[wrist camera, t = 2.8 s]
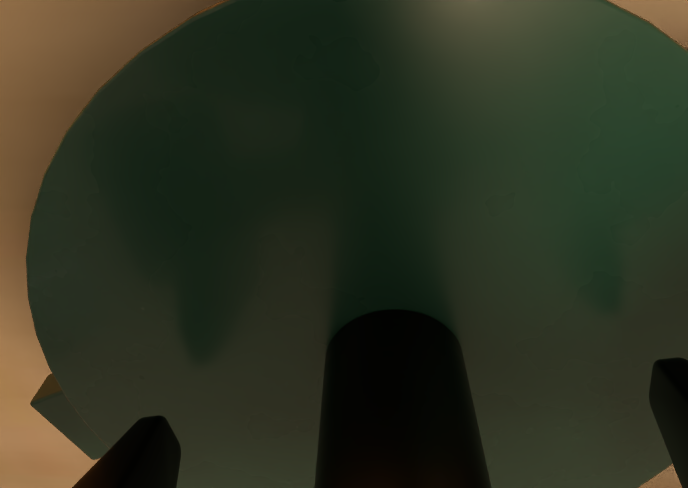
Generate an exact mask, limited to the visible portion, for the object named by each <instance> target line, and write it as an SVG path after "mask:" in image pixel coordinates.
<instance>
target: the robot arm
mask: <svg viewBox="0 0 688 488" xmlns="http://www.w3.org/2000/svg"><path fill="white" fill-rule="evenodd" d="M649 401H650V406H651V409H652V412H653V414H654V417H655V419H656V422H657V424H658V427H659V429H660V432H661V435H662V437H663V440H664V442H665V445H666V447H667V450H668V452H669V455H670V457H671V460H672V463H673V465H674V468H675V470H676V473H677V475H678V478H679V480H680V483H681V485H682V488H688V360H686V359H684V358H680V357H676V358H667V359H659V360H656V361H655V362H654V364H653V368H652V375H651V382H650V389H649ZM180 460H181V447H180V444H179V441H178V439H177V437H176V436H175V434H174V432H173V430H172V428H171V426H170V425H169V423H168V421H167V419H166V418H165V417H164V416H161V415H157V416H149V417H143V418H141V419H139V420H138V421H137V422H136V423H135V424H134V425H133V426H132V427H131V428H130V429H129V430H128V431H127V432H126V433H125V434H124V435H123V436H122V437H121V438H120V439H119V440H118V441H117V442H116V443H115V444H114V445H113V446H112V447H111V448H110V449H109V450H108V451H107V452H106V453H105V454H104V455H103V457H102V458H101V459H100V460H99V461H98V462H97V463H96V464H95V465H94V466H93V467H92V468H91V469H90V470H89V471H88V472H87V473H86V474H85V475H84V476H83V477H82V478H81V479H80V480H79V481H78V482H77V483H76V484H75V485H74V486H73V487H72V488H176V487H177V480H178V474H179V467H180Z"/></svg>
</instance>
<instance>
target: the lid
mask: <svg viewBox="0 0 688 488" xmlns="http://www.w3.org/2000/svg"><path fill="white" fill-rule="evenodd" d="M26 268H27V287H28V300H29V304H30V309H31V313H32V318H33V322H34V327H35V331H36V335H37V338H38V340H39V343H40V345H41V348H42V350H43V353H44V355H45V358H46V360H47V363H48V366H49V368H50V370H51V372H52V373H53V375H54V377H55V379H56V380H57V382H58V384H59V386H60V387H61V389H62V391H63V393H64V394H65V396H66V398H67V400H68V401H69V402H70V404H71V405H72V406H73V407H74V409H75V410H76V411H77V413H78V414H79V415H80V417H81V418H82V419H83V421H84V422H85V423H86V425H87V426H88V427H89V428H90V429H91V430H92V431H93V432H94V433H95V434H96V435H97V436H98V438H99V439H100V440H101V441H102V442H103V443H104V444H105V445H106V446H107V447H108V448H109V449H110V448H111V447H112V446H113V445H114V444H115V443H116V442H117V441H118V440H119V439H120V438H121V437H122V436H123V435H124V434H125V433H126V432H127V431H128V430H129V429H130V428H131V427H132V426H133V425H134V424H135V423H136V422H137V421H138V420H139V419H141V418H143V417H149V416H157V415H161V416H164V417H165V418H166V419H167V421H168V423H169V425H170V426H171V428H172V430H173V432H174V434H175V436H176V437H177V439H178V441H179V444H180V447H181V460H180V467H179V474H178V480H177V487H176V488H638V487H640V486H641V485H643V484H644V483H645V482H647V481H648V480H650V479H651V478H653V477H654V476H656V475H657V474H659V473H660V472H662V471H663V470H665V469H666V468H668V467H669V466H670V465H671V464H672V460H671V457H670V455H669V452H668V450H667V447H666V445H665V442H664V440H663V437H662V435H661V432H660V429H659V427H658V424H657V422H656V419H655V417H654V414H653V412H652V409H651V406H650V401H649V389H650V382H651V375H652V368H653V364H654V362H655V361H656V360H659V359H667V358H676V357H680V358H684V359H686V360H688V50H687V49H685V48H684V47H683V46H681V45H680V44H679V43H677V42H676V41H674V40H673V39H672V38H670V37H669V36H668V35H666V34H665V33H664V32H662V31H661V30H660V29H658V28H657V27H656V26H654V25H653V24H652V23H650V22H649V21H647V20H645V19H643V18H641V17H639V16H637V15H635V14H633V13H631V12H629V11H627V10H625V9H623V8H621V7H619V6H617V5H615V4H613V3H611V2H609V1H607V0H223V1H221V2H219V3H216V4H214V5H212V6H210V7H208V8H206V9H203V10H201V11H199V12H197V13H196V14H194V15H193V16H191V17H190V18H188V19H187V20H185V21H184V22H182V23H181V24H179V25H178V26H176V27H175V28H173V29H172V30H170V31H169V32H167V33H166V34H164V35H163V36H161V37H160V38H158V39H157V40H155V41H154V42H152V43H151V44H149V45H148V46H146V47H145V48H143V49H142V50H141V51H139V52H138V53H137V54H136V55H135V56H134V57H133V58H132V59H131V60H130V61H128V62H127V63H126V64H125V65H124V66H123V67H122V68H121V69H120V70H119V71H118V72H117V73H116V74H114V75H113V76H112V77H111V78H110V79H109V80H108V81H107V82H106V83H105V84H104V85H103V86H102V87H101V88H99V89H98V91H97V92H96V93H95V94H94V96H93V97H92V98H91V100H90V101H89V102H88V104H87V105H86V106H85V108H84V109H83V110H82V111H81V113H80V114H79V115H78V117H77V118H76V119H75V121H74V122H73V123H72V124H71V126H70V127H69V128H68V130H67V131H66V133H65V135H64V137H63V139H62V141H61V143H60V145H59V146H58V148H57V150H56V152H55V154H54V156H53V158H52V160H51V162H50V164H49V166H48V168H47V170H46V171H45V173H44V177H43V180H42V183H41V186H40V189H39V193H38V196H37V199H36V202H35V206H34V209H33V212H32V215H31V222H30V230H29V239H28V247H27V255H26Z"/></svg>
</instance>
